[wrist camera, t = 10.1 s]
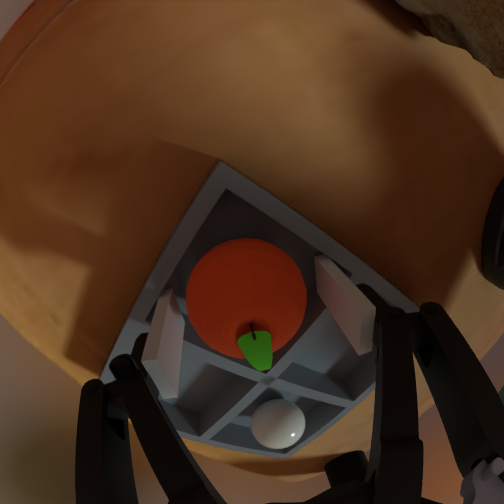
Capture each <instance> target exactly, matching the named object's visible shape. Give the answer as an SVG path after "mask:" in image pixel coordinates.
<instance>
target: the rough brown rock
mask: <svg viewBox="0 0 504 504" xmlns="http://www.w3.org/2000/svg"><path fill="white" fill-rule="evenodd" d="M395 1H396V2H397V3H398V4H399V5H400V6H402V7H403V8H404V9H406V10H407V11H411V12H412V13H414V14H416V15H417V16H419V17H421V19H422V21H423V23H424V24H425V26H426V27H427V28H428V29H429V31H430V32H431V33H432V35H433V36H434V37H435V38H436V39H438V40H439V41H440V42H442V43H445V44H448V45H452V46H455V47H459V48H462V49H465V50H466V51H467V52H469V53H470V54H471V56H472V57H473V59H475V60H477V61H478V62H480V63H481V64H483V65H484V66H486V67H487V68H488V69H489V70H490V71H491V72H492V74H493V75H494V76H496V77H499V78H502V79H504V0H395Z"/></svg>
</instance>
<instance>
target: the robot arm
mask: <svg viewBox="0 0 504 504" xmlns="http://www.w3.org/2000/svg"><path fill="white" fill-rule="evenodd" d="M314 262H315V273H316V285H317V294H318V295H319V296H320V298H321V299H322V301H323V302H324V304H325V305H326V307H327V308H328V310H329V311H330V313H331V314H332V316H333V317H334V319H335V320H336V322H337V323H338V325H339V326H340V328H341V329H342V331H343V332H344V334H345V335H346V337H347V338H348V340H349V341H350V343H351V345H352V346H353V348H354V349H355V351H356V352H357V354H358V355H362V354H365V353H368V352H370V351H372V346H373V343H374V345H375V346H376V347H377V350H376V357H375V364H376V385H375V405H374V419H373V431H372V440H371V449H370V457H369V464H368V469H367V473H366V477H365V481H364V483H359V480H358V479H355V480H352V481H350V482H347V483H344V484H341V485H338V486H335V487H332V488H330V489H328V490H326V491H324V492H323V493H321V494H319V495H317V496H315V497H313V498H311V499H309V500H307V501H305V502H298V503H297V502H296V503H267V504H442V503H438V502H435V501H432V500H429V499H426V498H423V497H421V492H422V479H423V442H422V440H420V439H419V432H418V404H417V390H416V379H415V369H414V361H413V353H414V355H415V357H416V359H417V362H418V364H419V366H420V368H421V370H422V373H423V375H424V377H425V380H426V382H427V384H428V387H429V389H430V391H431V394H432V396H433V399H434V401H435V404H436V406H437V409H438V411H439V414H440V417H441V419H442V422H443V424H444V428H445V430H446V433H447V436H448V439H449V442H450V445H451V448H452V451H453V454H454V458H455V461H456V463H457V466H458V469H459V471H460V472H461V474H462V476H463V478H464V479H463V481H462V484H461V491H460V495H461V496H462V497H463V498H464V502H463V504H504V385H503V387H502V388H501V390H500V391H499V392H498V393H497V391H496V389H495V387H494V386H493V384H492V382H491V380H490V379H489V377H488V375H487V373H486V372H485V370H484V368H483V367H482V365H481V363H480V362H479V360H478V359H477V357H476V355H475V354H474V352H473V351H472V349H471V348H470V346H469V344H468V343H467V341H466V340H465V338H464V337H463V335H462V334H461V333H460V331H459V330H458V328H457V327H456V325H455V324H454V322H453V321H452V320H451V318H450V317H449V315H448V314H447V313H446V311H445V310H444V309H443V307H442V306H441V305H440V304H437V303H435V302H426V303H423V304H422V305H421V306H420V309H419V312H413V313H405V311H404V310H403V309H401V308H399V307H391V306H390V305H389V304H388V303H387V302H386V301H385V300H384V299H383V298H382V297H381V296H380V295H379V294H378V293H377V292H375V290H374V289H373V288H372V287H371V286H369V285H367V284H364V283H361V284H358V285H354V283H353V282H352V281H351V280H350V279H349V278H348V277H347V276H346V275H345V274H344V273H343V272H342V271H341V270H340V269H339V268H338V267H337V266H336V265H335V264H334V263H333V262H332V261H331V260H330V259H329V258H328V257H327V255H325V254H323V255H318V256H314ZM482 266H483V272H484V275H485V277H486V279H487V280H488V281H489V282H491V283H492V284H494V285H495V286H497V287H498V288H500V289H502V290H504V179H503V181H502V182H501V184H500V185H499V187H498V189H497V191H496V193H495V196H494V198H493V201H492V204H491V207H490V210H489V213H488V217H487V221H486V226H485V231H484V237H483V245H482ZM184 326H185V322H184V319H183V316H182V313H181V311H180V308H179V305H178V302H177V300H176V297H175V294H174V291H173V288H169V289H165V290H162V291H161V293H160V296H159V299H158V302H157V306H156V309H155V312H154V316H153V319H152V322H151V326H150V329H149V332H147V333H141V334H140V335H139V336H138V337H137V338H136V340H135V343H134V347H133V349H132V352H131V355H130V354H121V355H118V356H116V357H115V358H113V359H112V360H111V362H110V363H109V369H110V371H111V373H112V374H113V376H114V377H115V379H116V380H115V381H113V382H110V383H107V384H104V383H103V382H102V381H101V380H100V379H92V380H89V381H88V382H86V383H85V384H84V386H83V387H82V390H81V397H80V405H79V413H78V425H77V438H76V459H75V488H76V489H75V490H76V504H139V503H138V498H137V493H136V487H135V481H134V474H133V467H132V459H131V450H130V441H129V429H128V418H130V420H131V422H132V425H133V427H134V429H135V432H136V434H137V437H138V439H139V441H140V443H141V446H142V448H143V450H144V452H145V455H146V457H147V459H148V461H149V463H150V465H151V467H152V469H153V471H154V473H155V475H156V477H157V479H158V481H159V483H160V484H161V486H162V488H163V490H164V492H165V493H166V495H167V497H168V499H169V502H168V504H227V503H226V502H225V501H224V499H223V498H222V497H221V495H220V494H219V493H218V492H217V490H216V489H215V488H214V486H213V485H212V483H211V482H210V481H209V479H208V478H207V477H206V475H205V474H204V472H203V471H202V470H201V468H200V467H199V465H198V464H197V462H196V461H195V459H194V458H193V456H192V455H191V453H190V452H189V450H188V449H187V447H186V445H185V444H184V442H183V441H182V439H181V437H180V436H179V434H178V432H177V431H176V429H175V427H174V426H173V424H172V422H171V420H170V419H169V417H168V415H167V413H166V412H165V410H164V408H163V406H162V404H161V403H160V401H159V399H158V398H159V393H160V394H161V396H162V397H163V399H169V398H178V386H179V374H180V364H181V353H182V344H183V335H184ZM412 352H413V353H412Z"/></svg>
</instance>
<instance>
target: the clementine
mask: <svg viewBox="0 0 504 504" xmlns="http://www.w3.org/2000/svg"><path fill="white" fill-rule="evenodd" d="M306 305H307V290H306V287H305V284H304V280H303V278H302V275H301V272H300V269H299V268H298V266H297V265H296V264H295V262H294V261H293V260H292V258H291V257H290V256H289V255H287V254H286V253H285V252H284V251H282V250H281V249H280V248H278V247H277V246H276V245H274V244H271V243H269V242H266V241H263V240H261V239H251V238H241V239H234V240H229V241H226V242H224V243H221V244H219V245H217V246H215V247H213V248H212V249H211V250H209V251H208V252H207V253H205V254H204V255H203V256H202V257H201V259H200V260H199V261H198V263H197V264H196V265H195V267H194V269H193V270H192V272H191V275H190V278H189V280H188V283H187V286H186V309H187V313H188V317H189V320H190V323H191V324H192V326H193V327H194V329H195V330H196V332H197V333H198V335H199V336H200V338H201V339H202V340H203V341H204V342H205V343H206V344H207V345H208V346H210V347H211V348H212V349H214V350H216V351H218V352H220V353H222V354H225V355H227V356H231V357H235V358H241V359H247V360H248V362H249V363H250V364H251V365H252V366H253V367H254V368H255V369H257V370H259V371H263V370H267V369H270V368H271V365H272V358H273V354H272V353H273V352H275V351H277V350H278V349H280V348H281V347H283V346H284V345H285V344H286V343H287V342H288V341H289V340H290V339H291V338H292V337H293V336H294V335H295V334H296V332H297V330H298V329H299V327H300V326H301V324H302V321H303V317H304V314H305V310H306Z"/></svg>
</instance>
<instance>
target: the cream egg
mask: <svg viewBox="0 0 504 504" xmlns="http://www.w3.org/2000/svg"><path fill="white" fill-rule="evenodd" d="M250 428H251V432H252V434H253V436H254V438H255V439H256V440H257V441H258V442H259V443H260V444H262V445H263V446H265V447H268V448H272V449H282V448H286V447H289V446H291V445H293V444H294V443H296V442H297V441H298V440H299V439H300V438H301V436H302V435H303V432H304V430H305V417H304V414H303V412H302V410H301V409H300V408H299V407H298V406H297V405H296V404H295V403H293V402H291V401H288V400H285V399H272V400H269V401H266V402H264V403H263V404H261V405H260V406H259V407H258V408H257V409H256V410H255V411H254V413H253V415H252V417H251V422H250Z"/></svg>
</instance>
